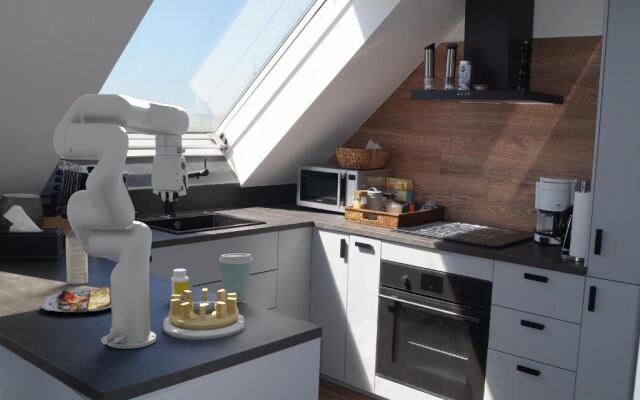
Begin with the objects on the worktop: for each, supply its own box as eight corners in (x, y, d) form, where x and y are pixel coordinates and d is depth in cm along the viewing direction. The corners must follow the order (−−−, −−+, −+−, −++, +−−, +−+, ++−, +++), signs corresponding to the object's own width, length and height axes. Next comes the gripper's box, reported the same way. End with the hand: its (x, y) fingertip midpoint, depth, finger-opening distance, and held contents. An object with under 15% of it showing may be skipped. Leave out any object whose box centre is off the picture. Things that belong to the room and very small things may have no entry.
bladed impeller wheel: (226, 332, 187) (225, 308, 186) (157, 327, 191) (157, 303, 190) (247, 312, 206) (247, 290, 205) (184, 307, 209) (184, 286, 208)
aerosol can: (87, 280, 250) (85, 223, 248) (88, 284, 244) (86, 226, 241) (67, 281, 248) (65, 224, 245) (67, 286, 242) (65, 227, 239)
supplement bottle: (192, 300, 226) (192, 269, 224) (178, 303, 222) (177, 272, 220) (182, 297, 229) (181, 267, 228) (167, 300, 225) (167, 269, 224)
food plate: (50, 295, 229) (50, 285, 229) (125, 293, 234) (125, 282, 233) (36, 320, 205) (36, 308, 204) (121, 317, 210) (120, 305, 209)
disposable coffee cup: (212, 299, 227) (212, 252, 225) (242, 294, 234) (242, 248, 232) (229, 306, 219) (228, 258, 217) (259, 301, 225) (259, 254, 223)
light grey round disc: (219, 344, 184) (219, 335, 184) (147, 333, 192) (147, 325, 192) (257, 320, 205) (257, 313, 204) (190, 312, 213) (190, 305, 212)
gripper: (198, 151, 208) (198, 214, 211) (154, 150, 214) (155, 211, 216) (184, 153, 202) (185, 217, 204) (139, 151, 207) (140, 214, 209)
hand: (169, 214), depth 210 cm, fingers closed
